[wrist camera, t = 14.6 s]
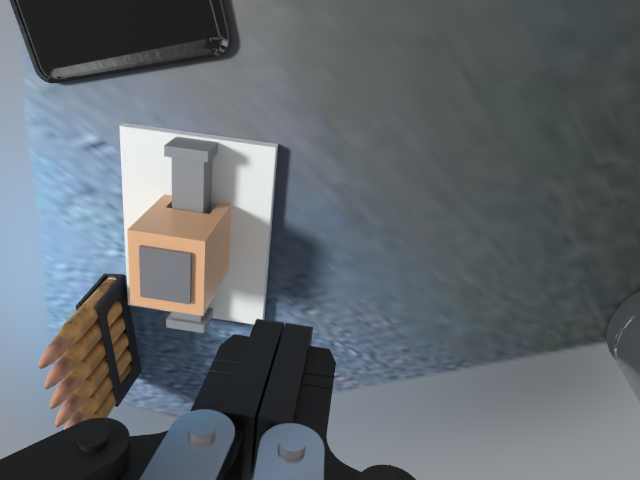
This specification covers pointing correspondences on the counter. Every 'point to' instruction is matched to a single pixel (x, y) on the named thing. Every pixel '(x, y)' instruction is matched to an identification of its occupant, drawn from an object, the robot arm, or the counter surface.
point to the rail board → (229, 187)
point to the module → (178, 257)
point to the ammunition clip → (94, 354)
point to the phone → (118, 34)
